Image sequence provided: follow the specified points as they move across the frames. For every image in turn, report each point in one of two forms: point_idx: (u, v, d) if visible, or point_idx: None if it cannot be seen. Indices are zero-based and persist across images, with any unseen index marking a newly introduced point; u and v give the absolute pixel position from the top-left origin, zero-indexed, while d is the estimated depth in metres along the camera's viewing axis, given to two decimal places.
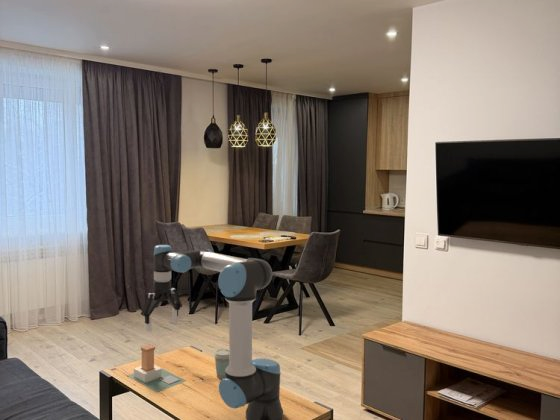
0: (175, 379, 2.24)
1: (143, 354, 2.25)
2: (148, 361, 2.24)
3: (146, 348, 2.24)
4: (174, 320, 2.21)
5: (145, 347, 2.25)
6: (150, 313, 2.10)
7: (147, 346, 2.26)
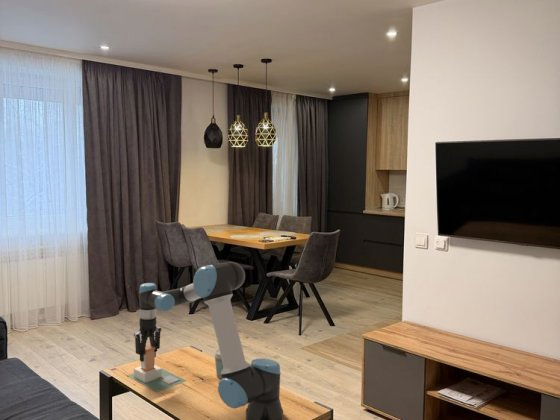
0: (175, 379, 2.24)
1: None
2: (148, 361, 2.24)
3: (146, 348, 2.24)
4: None
5: (145, 347, 2.25)
6: (144, 351, 2.23)
7: (147, 346, 2.26)
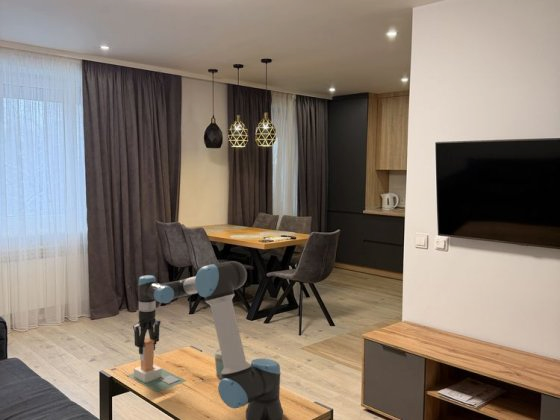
0: (175, 379, 2.24)
1: None
2: (148, 354, 2.24)
3: (145, 341, 2.23)
4: None
5: (144, 340, 2.25)
6: (143, 343, 2.22)
7: (146, 339, 2.25)
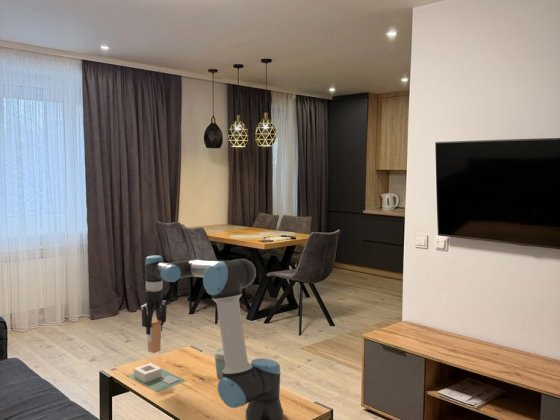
0: (175, 379, 2.24)
1: None
2: (155, 334, 2.22)
3: (152, 321, 2.22)
4: None
5: None
6: (150, 324, 2.21)
7: (153, 320, 2.24)
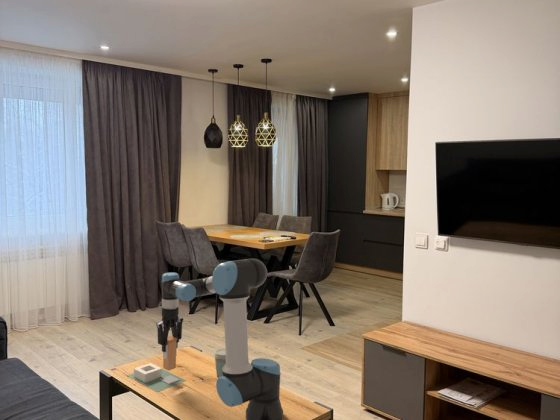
0: (175, 379, 2.24)
1: None
2: (171, 352, 2.21)
3: (168, 339, 2.21)
4: None
5: None
6: (166, 341, 2.20)
7: (169, 337, 2.23)
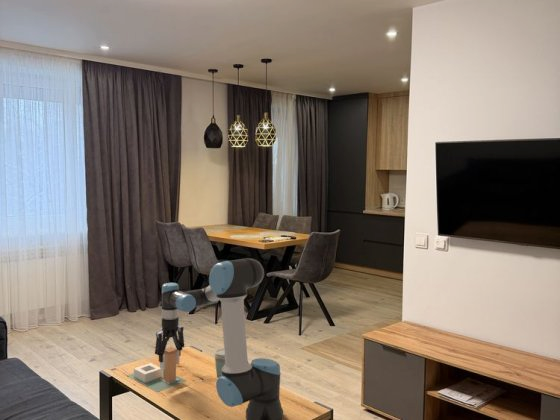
0: None
1: (165, 356, 2.22)
2: (171, 363, 2.22)
3: (168, 350, 2.21)
4: (177, 360, 2.26)
5: (167, 349, 2.22)
6: (163, 352, 2.19)
7: (169, 349, 2.23)
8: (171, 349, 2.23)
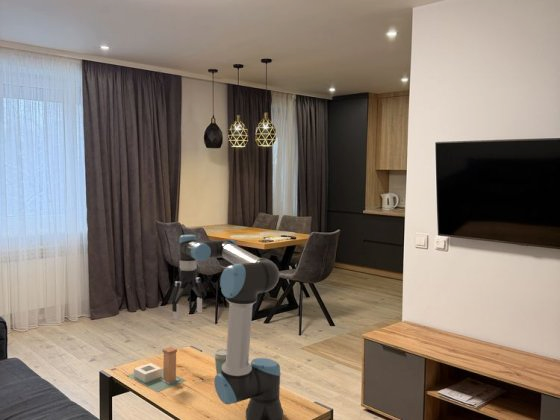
0: None
1: (165, 356, 2.22)
2: (171, 363, 2.22)
3: (168, 350, 2.21)
4: (199, 309, 2.26)
5: (167, 349, 2.22)
6: (177, 301, 2.15)
7: (169, 349, 2.23)
8: (171, 349, 2.23)
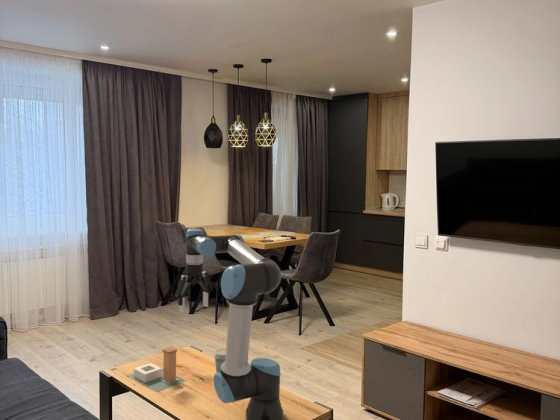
0: None
1: (165, 356, 2.22)
2: (171, 363, 2.22)
3: (168, 350, 2.21)
4: (205, 303, 2.27)
5: (167, 349, 2.22)
6: (183, 295, 2.16)
7: (169, 349, 2.23)
8: (171, 349, 2.23)
